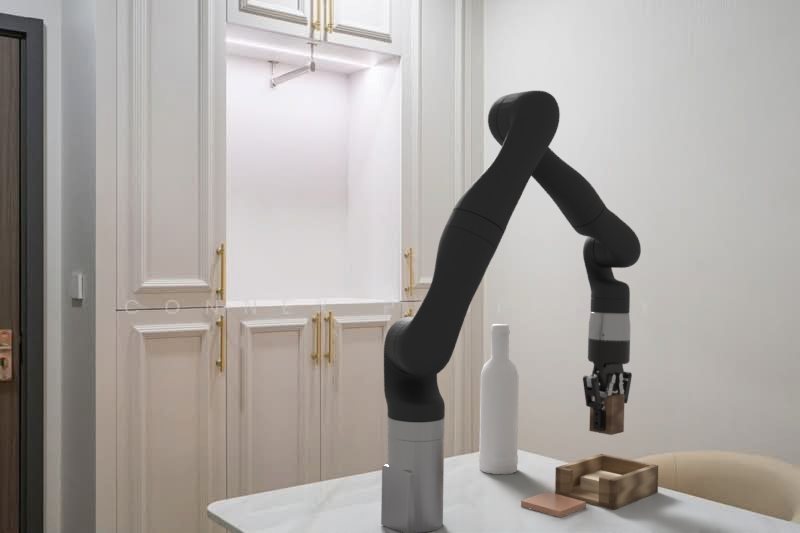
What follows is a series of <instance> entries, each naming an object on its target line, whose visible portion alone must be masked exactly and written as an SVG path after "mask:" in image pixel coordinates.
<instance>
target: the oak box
mask: <svg viewBox="0 0 800 533" xmlns="http://www.w3.org/2000/svg"><path fill="white" fill-rule="evenodd" d="M554 480H555V485H554V486H555V487H554V488H555V489H554V490H555V491H554V492H555V493H554V494H558V495H562V496H565V497H569V498H573V499H577V500H581V501H585V502H586V504H590V505H592V506H593V505H594V506H598V507H602V508H604V509H609V510H613V511H615V510H617V509H619V508H623V507H625V506H627V505H630V504H632V503H635V502H638V501H639V500H642V499H645V498H647V497H649V496H651V495H655V494H656V493H658V492H659V465H658V464H657V465H656V464H652V463H647V462H644V461H643V462H642V461H638V460H633V459H629V458H623V457H619V456H614V455H610V454H609V455H608V454H603V453H599V454H596V455H593V456H590V457H586V458H582V459H579V460H576V461H573V462H569V463H566V464H563V465H559V466H555V478H554Z"/></svg>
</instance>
